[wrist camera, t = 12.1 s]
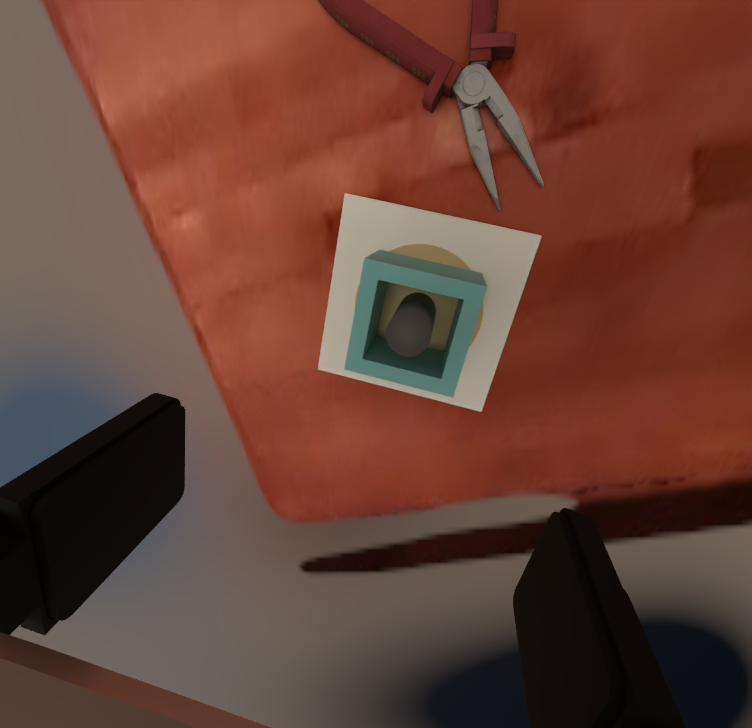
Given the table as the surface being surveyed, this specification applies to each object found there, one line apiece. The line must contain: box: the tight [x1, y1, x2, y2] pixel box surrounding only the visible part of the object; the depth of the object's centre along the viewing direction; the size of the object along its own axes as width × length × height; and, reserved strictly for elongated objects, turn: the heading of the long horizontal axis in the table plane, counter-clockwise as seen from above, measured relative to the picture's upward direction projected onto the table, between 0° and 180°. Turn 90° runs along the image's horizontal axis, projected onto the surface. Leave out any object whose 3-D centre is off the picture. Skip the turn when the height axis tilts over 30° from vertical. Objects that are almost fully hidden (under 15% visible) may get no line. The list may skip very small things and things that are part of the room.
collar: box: [344, 250, 487, 397], centre depth 26 cm, size 7×7×5 cm
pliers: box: [319, 0, 544, 210], centre depth 23 cm, size 12×20×3 cm, turn 30°
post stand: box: [318, 193, 542, 412], centre depth 27 cm, size 13×13×8 cm
